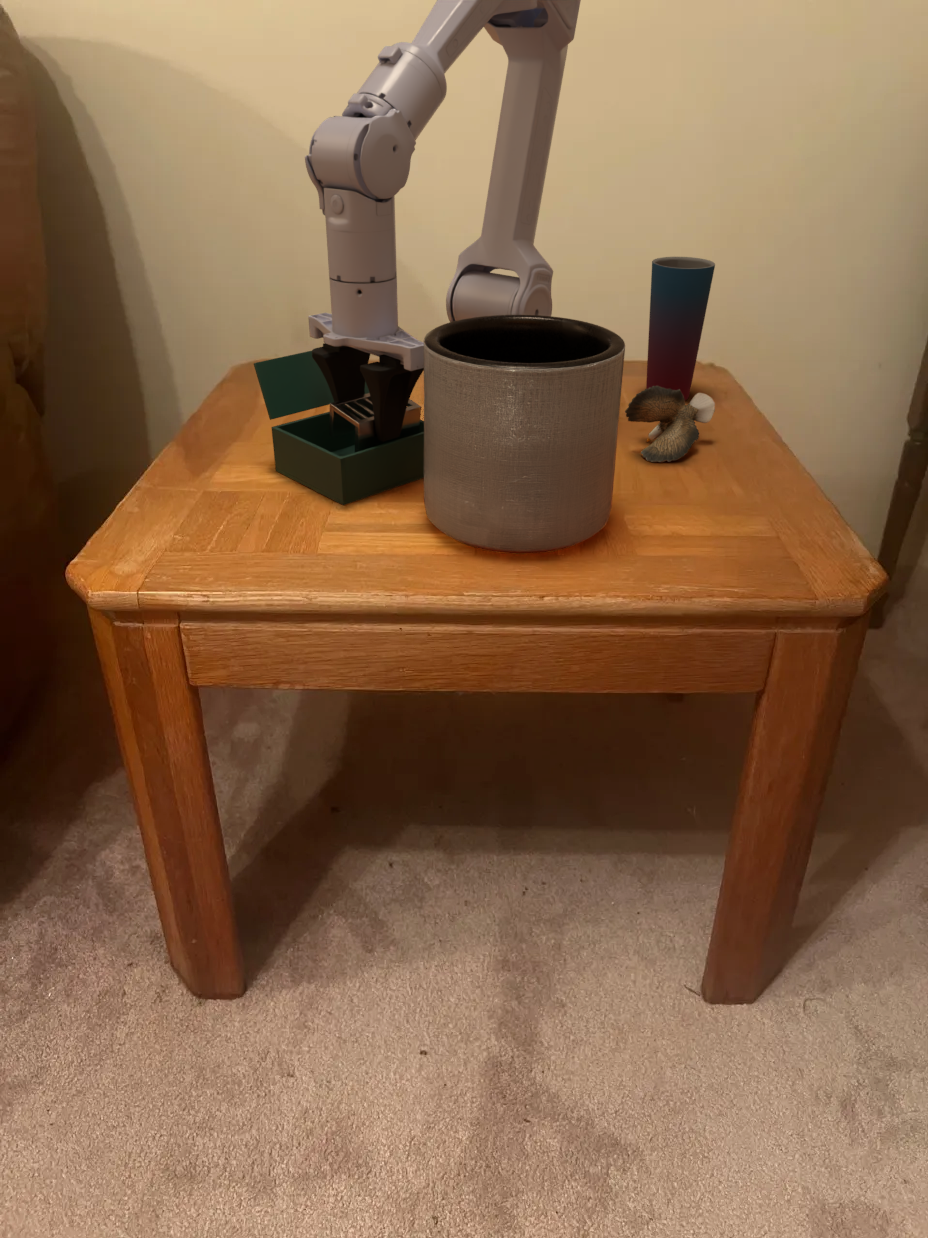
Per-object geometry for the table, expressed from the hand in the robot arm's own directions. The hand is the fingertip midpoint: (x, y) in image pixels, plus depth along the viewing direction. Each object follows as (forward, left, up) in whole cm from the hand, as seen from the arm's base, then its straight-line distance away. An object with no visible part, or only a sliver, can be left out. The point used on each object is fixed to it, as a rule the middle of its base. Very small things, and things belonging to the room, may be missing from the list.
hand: (370, 430), depth 87 cm
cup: (-41, -6, -5) cm, 42 cm away
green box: (+1, -2, -5) cm, 5 cm away
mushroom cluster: (-30, +7, -5) cm, 31 cm away
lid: (+2, -8, +3) cm, 9 cm away
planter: (-7, +14, -5) cm, 17 cm away
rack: (-1, 0, -1) cm, 1 cm away
